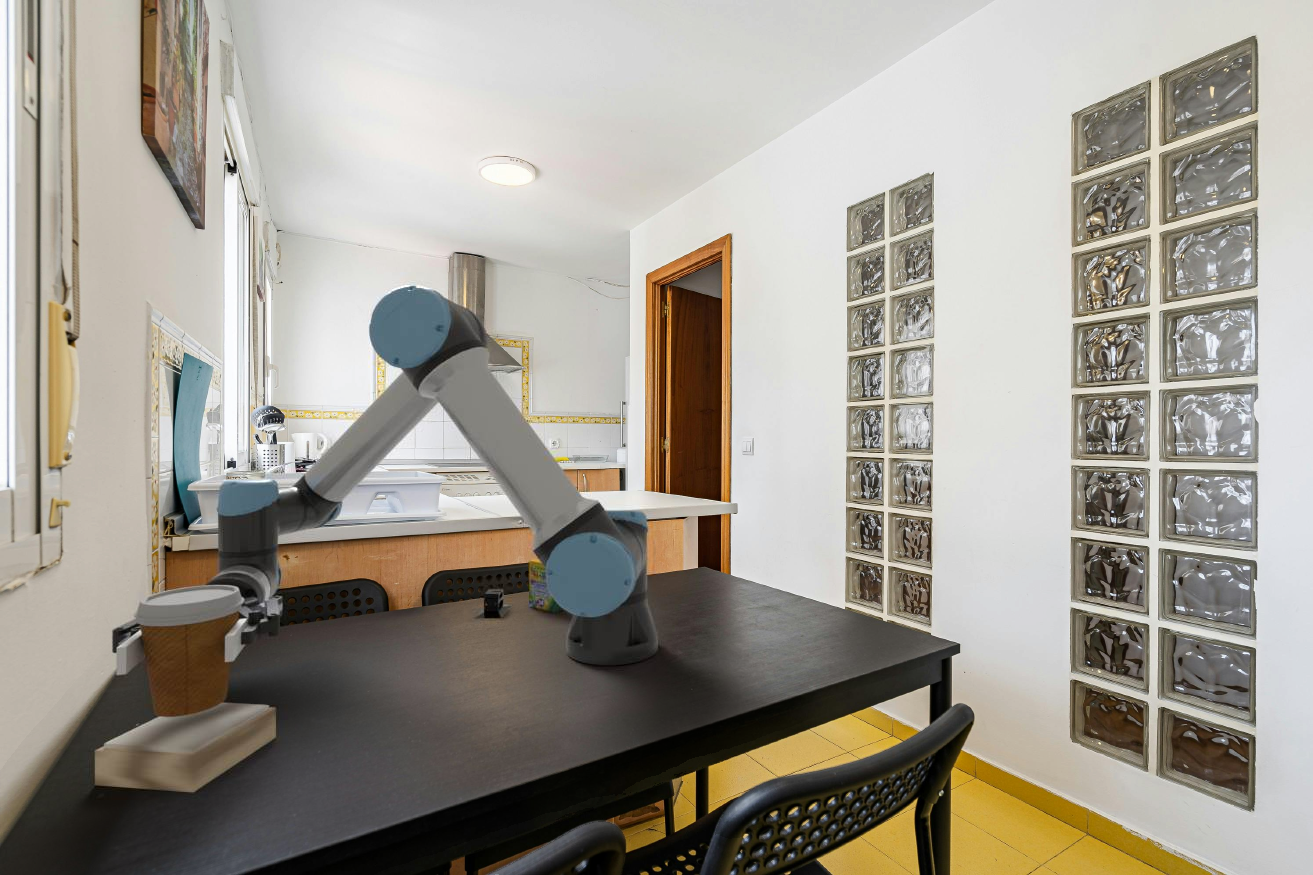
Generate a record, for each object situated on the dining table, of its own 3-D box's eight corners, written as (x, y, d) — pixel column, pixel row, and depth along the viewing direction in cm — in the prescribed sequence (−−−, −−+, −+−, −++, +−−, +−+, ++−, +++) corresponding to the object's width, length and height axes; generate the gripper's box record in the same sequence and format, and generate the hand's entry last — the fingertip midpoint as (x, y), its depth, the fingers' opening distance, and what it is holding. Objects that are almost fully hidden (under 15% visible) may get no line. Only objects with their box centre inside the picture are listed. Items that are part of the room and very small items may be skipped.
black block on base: (503, 623, 116) (503, 599, 116) (465, 623, 116) (465, 599, 116) (518, 605, 128) (518, 583, 128) (483, 605, 128) (483, 583, 128)
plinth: (275, 737, 71) (275, 703, 71) (193, 792, 60) (193, 751, 60) (190, 732, 72) (190, 698, 72) (95, 784, 61) (94, 745, 61)
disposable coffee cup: (175, 687, 70) (175, 584, 70) (261, 685, 71) (262, 583, 71) (108, 726, 61) (108, 607, 61) (208, 723, 62) (209, 605, 62)
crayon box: (528, 607, 125) (528, 551, 125) (538, 603, 127) (538, 548, 127) (553, 613, 121) (553, 555, 121) (564, 609, 123) (564, 552, 123)
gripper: (320, 617, 87) (295, 675, 66) (135, 636, 78) (40, 709, 57) (320, 565, 87) (296, 606, 66) (135, 578, 78) (40, 630, 57)
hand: (176, 654), depth 62 cm, fingers closed on disposable coffee cup, 8 cm apart
